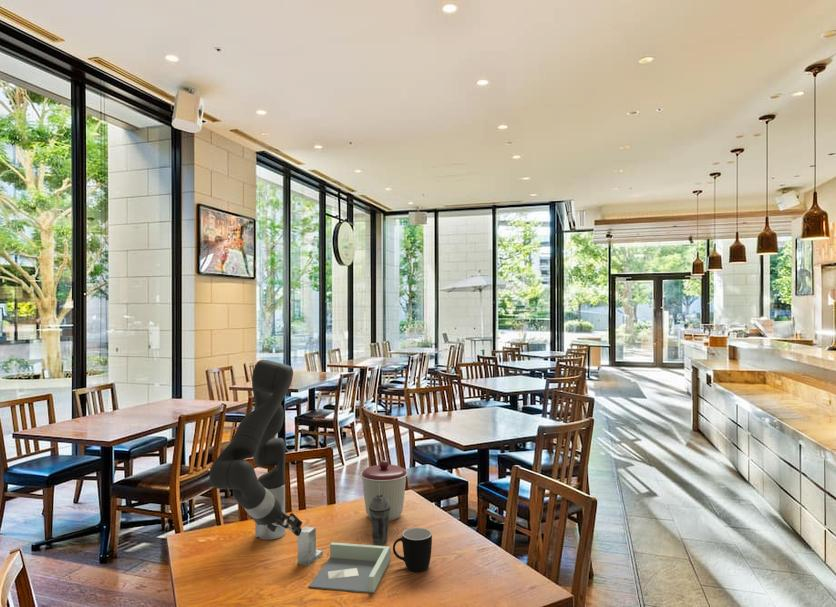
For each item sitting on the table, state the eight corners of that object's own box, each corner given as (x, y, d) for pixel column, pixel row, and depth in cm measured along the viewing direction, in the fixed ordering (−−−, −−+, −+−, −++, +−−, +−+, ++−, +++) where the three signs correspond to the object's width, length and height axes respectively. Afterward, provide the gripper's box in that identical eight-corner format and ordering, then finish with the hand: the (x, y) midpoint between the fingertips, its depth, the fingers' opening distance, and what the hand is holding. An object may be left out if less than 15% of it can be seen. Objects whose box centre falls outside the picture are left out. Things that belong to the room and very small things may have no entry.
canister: (403, 506, 209) (403, 452, 209) (412, 523, 191) (412, 465, 191) (358, 510, 205) (357, 456, 205) (363, 528, 187) (362, 469, 188)
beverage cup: (392, 538, 179) (391, 479, 179) (389, 547, 172) (388, 486, 172) (371, 537, 180) (370, 478, 180) (367, 546, 172) (366, 485, 173)
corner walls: (308, 587, 147) (308, 571, 147) (331, 556, 166) (331, 542, 166) (374, 593, 143) (374, 576, 144) (390, 561, 162) (390, 546, 162)
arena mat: (308, 587, 147) (308, 585, 147) (331, 556, 166) (331, 555, 166) (374, 593, 143) (374, 591, 143) (390, 561, 162) (390, 559, 162)
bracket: (308, 565, 160) (308, 532, 160) (297, 563, 161) (297, 530, 161) (322, 554, 167) (322, 523, 167) (311, 552, 169) (311, 521, 169)
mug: (434, 561, 162) (433, 528, 162) (430, 575, 153) (429, 540, 153) (395, 558, 164) (395, 526, 164) (390, 573, 155) (389, 538, 155)
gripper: (289, 494, 143) (312, 521, 153) (246, 488, 148) (272, 515, 158) (277, 521, 138) (302, 547, 148) (233, 514, 143) (261, 539, 153)
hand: (286, 530), depth 153 cm, fingers open, 8 cm apart
